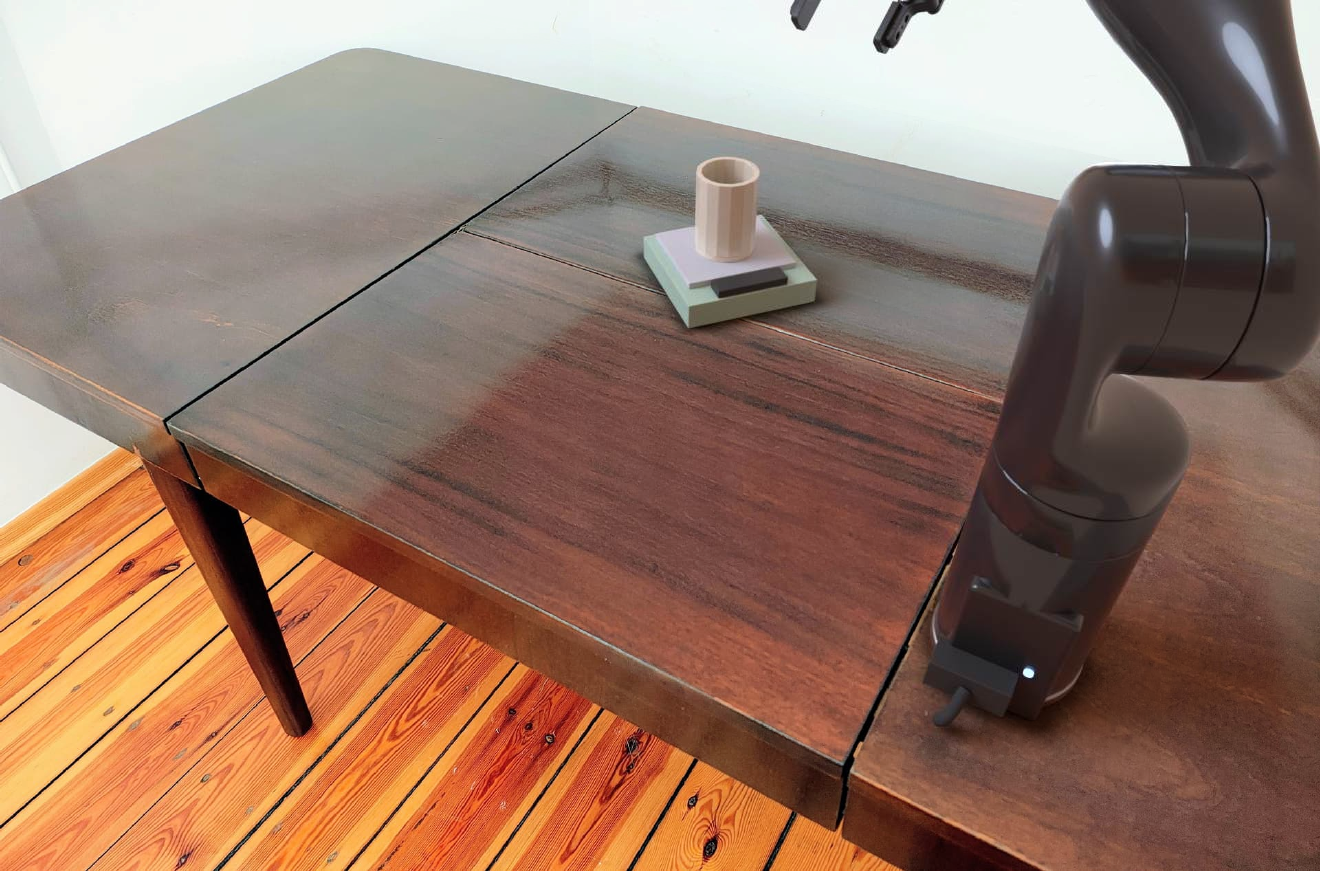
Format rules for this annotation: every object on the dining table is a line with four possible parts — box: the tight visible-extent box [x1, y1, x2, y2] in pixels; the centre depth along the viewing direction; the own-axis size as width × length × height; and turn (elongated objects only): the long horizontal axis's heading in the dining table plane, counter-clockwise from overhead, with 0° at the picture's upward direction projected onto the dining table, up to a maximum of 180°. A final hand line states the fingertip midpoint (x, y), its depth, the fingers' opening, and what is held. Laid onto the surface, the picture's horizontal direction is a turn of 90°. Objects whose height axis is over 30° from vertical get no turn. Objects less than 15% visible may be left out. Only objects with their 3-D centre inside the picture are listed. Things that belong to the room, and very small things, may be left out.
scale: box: [643, 214, 818, 329], centre depth 92 cm, size 13×13×3 cm
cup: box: [694, 156, 761, 263], centre depth 89 cm, size 6×6×8 cm
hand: (837, 37), depth 82 cm, fingers open, 8 cm apart
